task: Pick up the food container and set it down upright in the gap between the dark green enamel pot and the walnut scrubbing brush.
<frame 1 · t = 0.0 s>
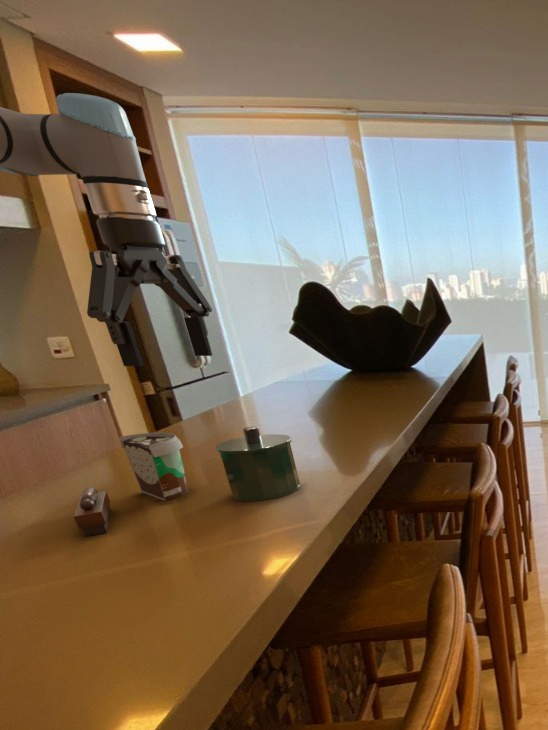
hand: (171, 360, 95), 22 cm above the counter, tool pointing down, fingers open, 13 cm apart
pot lid: (254, 444, 97), point 8 cm above the counter, touching pot
pot: (267, 491, 100), on the counter
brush: (98, 523, 87), on the counter
food container: (174, 492, 101), on the counter
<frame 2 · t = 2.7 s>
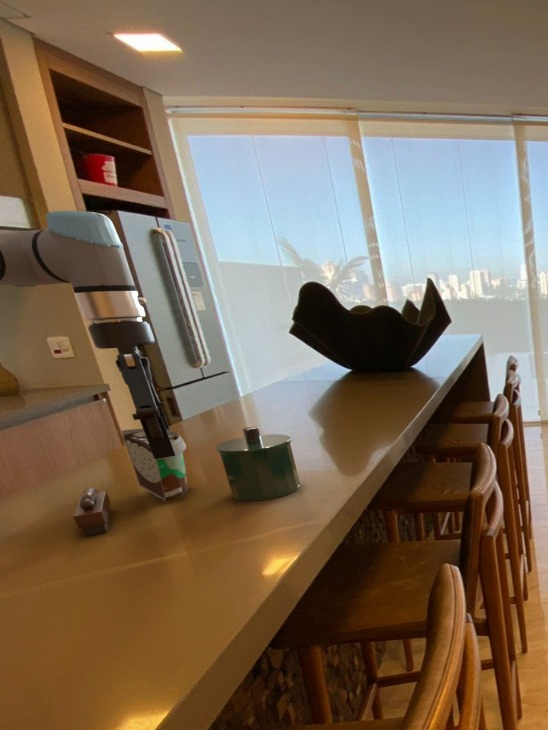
hand: (165, 450, 97), 8 cm above the counter, tool pointing down, fingers open, 13 cm apart
food container: (173, 489, 101), on the counter, touching gripper
everything else where it was.
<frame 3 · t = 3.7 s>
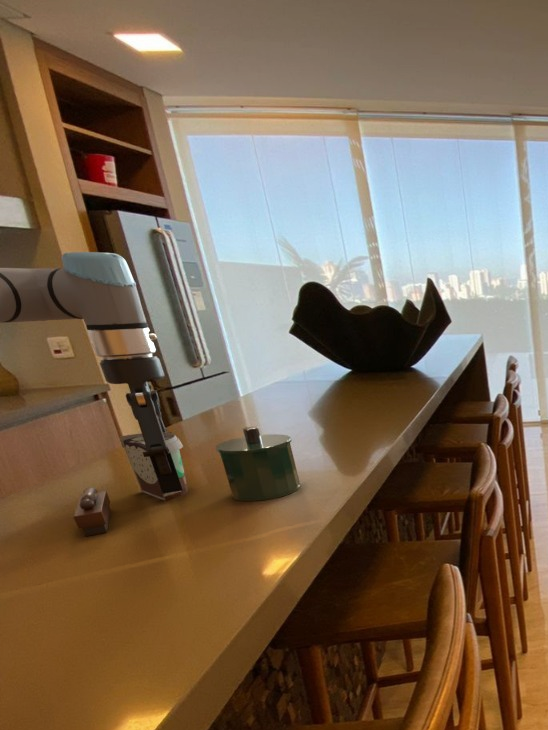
hand: (172, 483, 100), 2 cm above the counter, tool pointing down, fingers closed on food container, 12 cm apart
food container: (174, 492, 101), on the counter, touching gripper
everything else where it was.
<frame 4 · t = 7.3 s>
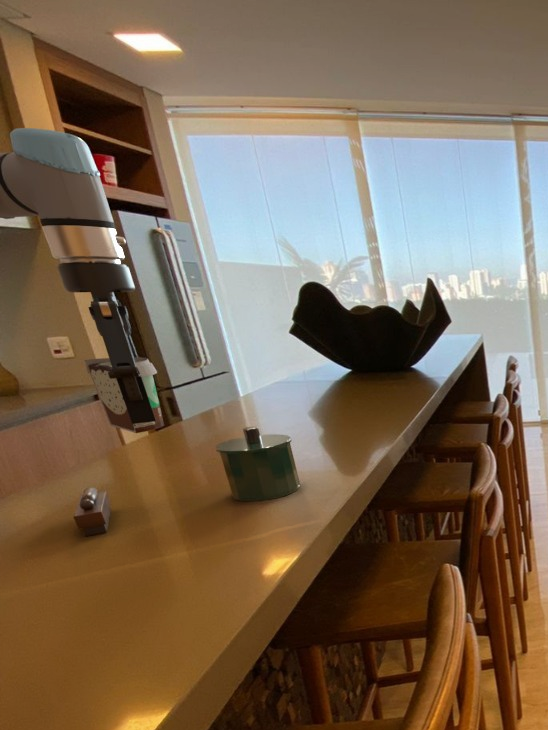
hand: (144, 415, 87), 15 cm above the counter, tool pointing down, fingers closed on food container, 12 cm apart
food container: (147, 426, 88), point 14 cm above the counter, touching gripper
everything else where it was.
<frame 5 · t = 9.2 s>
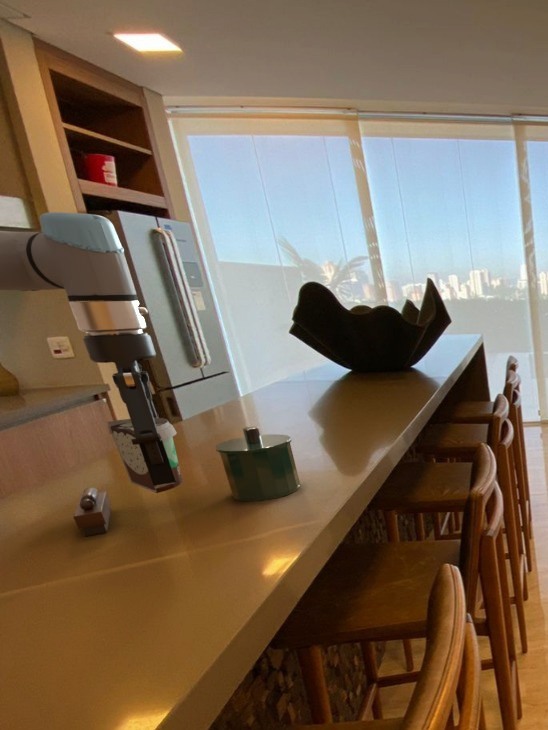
hand: (164, 474, 90), 6 cm above the counter, tool pointing down, fingers closed on food container, 12 cm apart
food container: (167, 483, 92), point 4 cm above the counter, touching gripper
everything else where it was.
when the fingers open (2 cm above the counter, at t = 10.9 s): food container stays where it is, on the counter.
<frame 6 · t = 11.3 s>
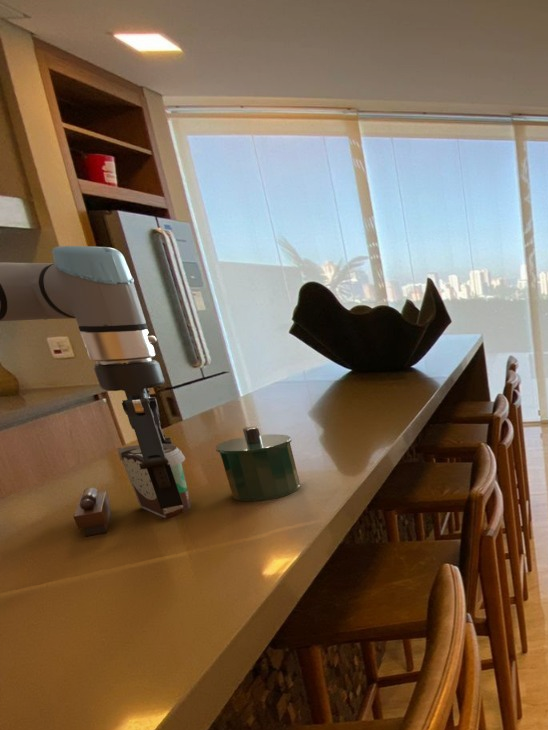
hand: (170, 494, 92), 2 cm above the counter, tool pointing down, fingers open, 13 cm apart
food container: (175, 507, 94), on the counter
everything else where it was.
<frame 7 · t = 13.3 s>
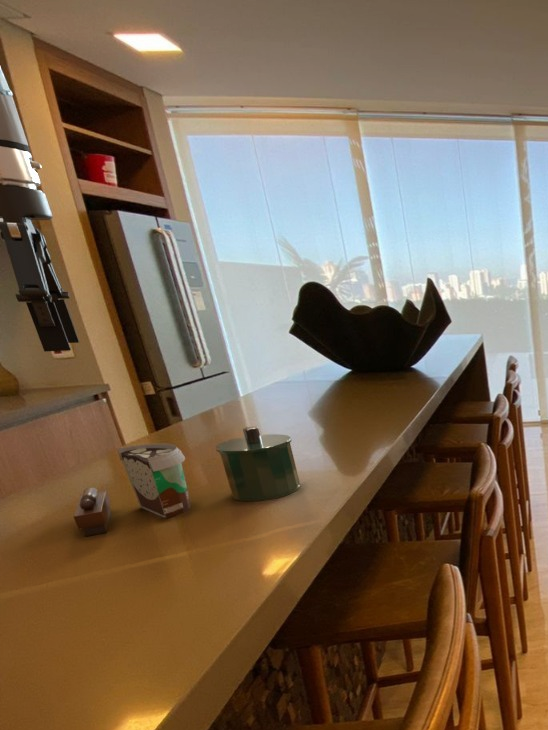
hand: (63, 346, 85), 26 cm above the counter, tool pointing down, fingers open, 13 cm apart
nothing on the counter moved.
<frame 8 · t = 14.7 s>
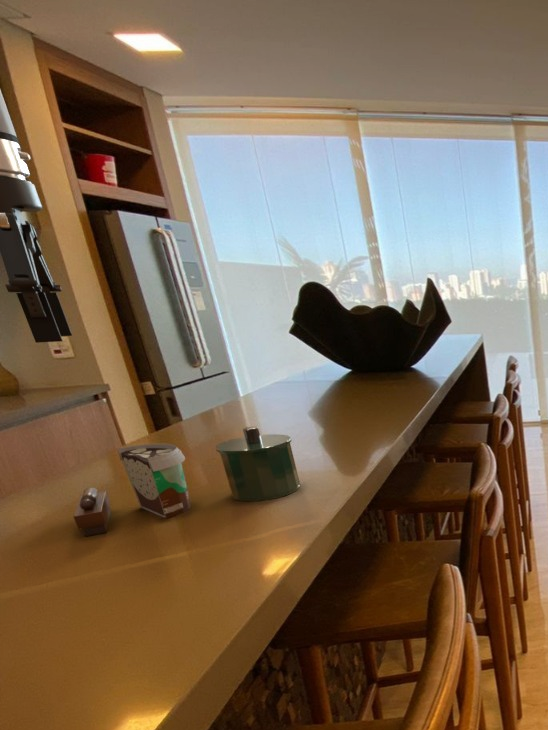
hand: (55, 339, 85), 27 cm above the counter, tool pointing down, fingers open, 13 cm apart
nothing on the counter moved.
at the end: food container inside the target area (1.0 cm from its centre), on the counter; food container tilted 0° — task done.
